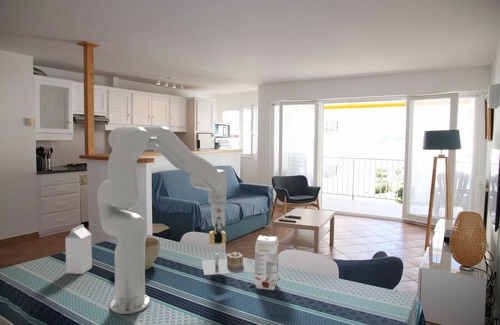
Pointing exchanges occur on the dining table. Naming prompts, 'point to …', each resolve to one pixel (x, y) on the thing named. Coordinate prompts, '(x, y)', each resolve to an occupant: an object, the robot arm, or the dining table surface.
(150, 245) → the planter bowl
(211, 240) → the ochre gear
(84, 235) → the milk carton
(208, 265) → the gear board
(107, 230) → the robot arm
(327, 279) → the dining table surface
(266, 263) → the juice carton
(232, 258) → the beech gear
